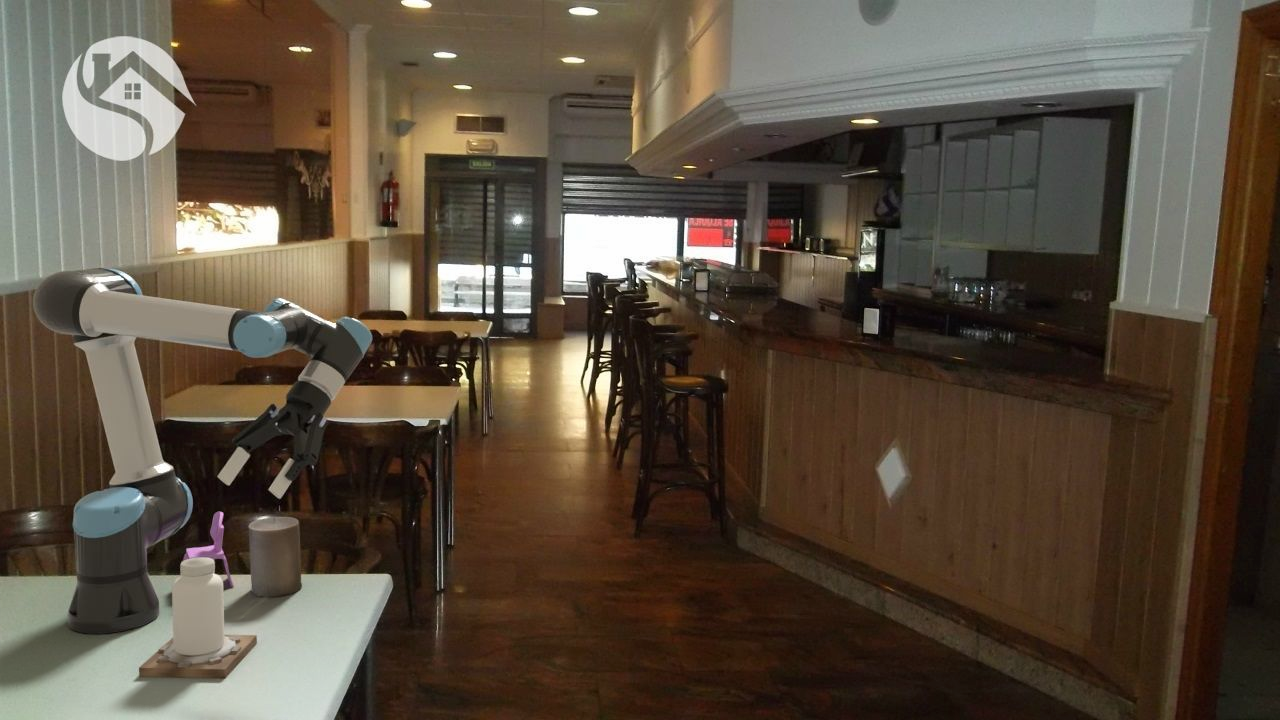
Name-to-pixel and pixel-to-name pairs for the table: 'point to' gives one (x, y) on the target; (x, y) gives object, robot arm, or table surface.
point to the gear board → (199, 660)
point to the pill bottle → (198, 608)
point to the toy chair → (215, 549)
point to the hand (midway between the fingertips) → (248, 487)
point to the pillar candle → (275, 556)
